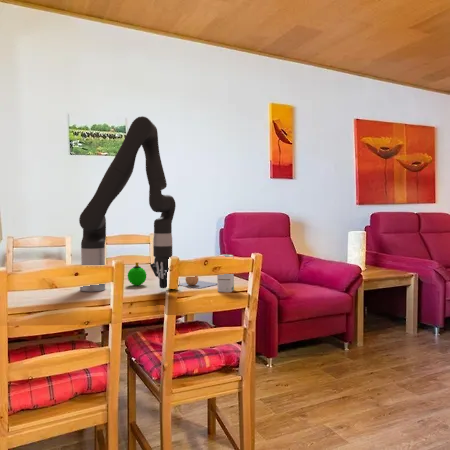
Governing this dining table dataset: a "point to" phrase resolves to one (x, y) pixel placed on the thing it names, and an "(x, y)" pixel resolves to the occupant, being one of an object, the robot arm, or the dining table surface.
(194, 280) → the orange ball
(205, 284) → the slate mark
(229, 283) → the syrup box
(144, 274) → the ornament
